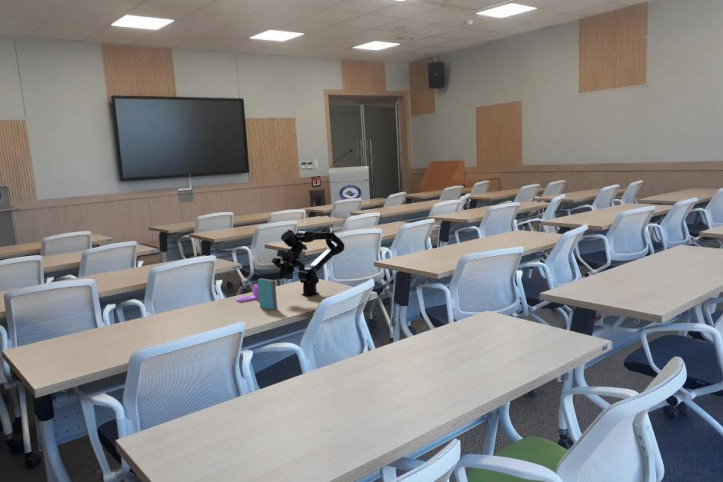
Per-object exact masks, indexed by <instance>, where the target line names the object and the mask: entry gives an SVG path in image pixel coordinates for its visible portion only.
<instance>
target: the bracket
mask: <svg viewBox="0 0 723 482" xmlns="http://www.w3.org/2000/svg"><path fill="white" fill-rule="evenodd" d="M252 293H253V294H252V295H251V294H250V295H247V296H241V297H237V298H236V299H235V300H236V302H237V303H246V302H251V301H258V300H259V289H258V283H254V284H253V286H252Z"/></svg>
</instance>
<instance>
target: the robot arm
mask: <svg viewBox="0 0 723 482" xmlns="http://www.w3.org/2000/svg"><path fill="white" fill-rule="evenodd" d="M280 240H281V241H282V242H283V243H284V244H285V245H286V246H287V247H288V248H289V249H286V250H283V249H278V250H277V252H276V257H273V258H272V260H271V263H272V264H273V265H274V266H275V267H277V268H278V269H279V274H278V279H279V280H282V279H284V278H286V277H287V276H289V275H290V274H292V273H293V272H296V269H297V268H298V272H297V273H298V274H297V277H298V279H299V282H300V283H301V284H302V285H303V286H302V291H303V292H302V294H301V296H306V297H312V296H316V295H319V294H320V292H317V284H318V283H319V281H320V278H319V277H318V275H317V274H318V272H319V270H320V269H321V268H322V267H324V265H326V264H327V263H328V262H329V260H331V258H332V257H334V256H336V255H339V254H341V253H342V252H343V251H344V250H345V246H346V245H345V243H344V242H343V241H342V239H341V238H339V236H337V235H336V234H335V232H334V231H322V232H321V231H320V232H315V231H314V232H313V231H309V230H308V231H306V230H298V231H297V232H296V233H295V232H294V231H293V230H292V229H288V230H287V231H285V232H284V233H282V234H281V237H280ZM318 240H319V241H320V240H325V245H326V248H325V251H324V252H322V254H320V255H319V256H318V257H317V258H315V260H314V261H312V262H311V264H304V263H303V262H302V261H301V260H300V259H301V254H302V253H303V251H307V250H308V246H307V244H309V243H312V242H313V241H318ZM304 243H307V244H304Z"/></svg>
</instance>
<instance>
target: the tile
mask: <svg viewBox="0 0 723 482" xmlns="http://www.w3.org/2000/svg"><path fill="white" fill-rule="evenodd" d="M257 284H258V289H259V299H258V300H259V307H260V308H262V309H265V310H266V309H267V310H271V311H276V310H278V301H277V299H278V298H277V291H276V290H277V289H276V280H273V279H267V278H258V279H257Z"/></svg>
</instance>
